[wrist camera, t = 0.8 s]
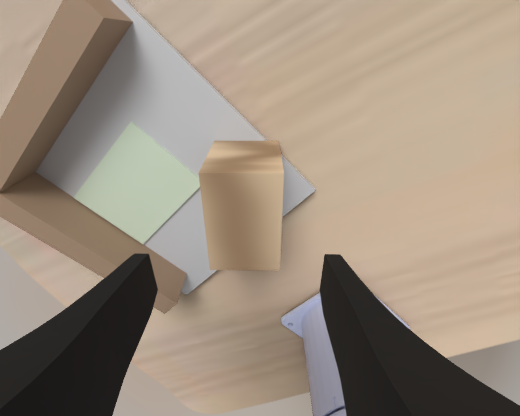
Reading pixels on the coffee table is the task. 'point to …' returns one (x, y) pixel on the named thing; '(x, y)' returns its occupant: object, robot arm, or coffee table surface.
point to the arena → (118, 147)
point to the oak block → (243, 204)
